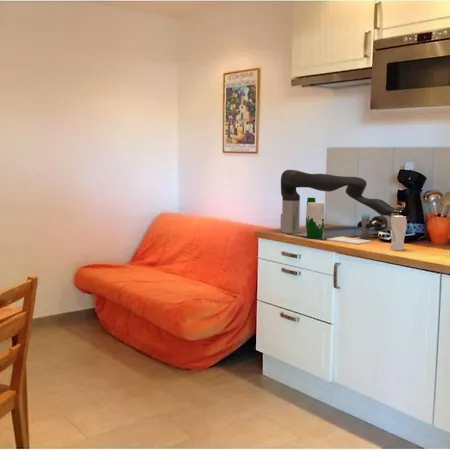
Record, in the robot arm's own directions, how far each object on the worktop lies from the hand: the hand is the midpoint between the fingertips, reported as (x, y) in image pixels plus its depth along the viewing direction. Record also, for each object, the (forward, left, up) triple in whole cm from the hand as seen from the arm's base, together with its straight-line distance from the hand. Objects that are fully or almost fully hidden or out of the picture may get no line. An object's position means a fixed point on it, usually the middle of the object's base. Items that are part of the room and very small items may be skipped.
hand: (362, 225), depth 283 cm
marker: (0, +3, -7) cm, 8 cm away
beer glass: (+26, -10, -7) cm, 29 cm away
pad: (-2, -7, -7) cm, 10 cm away
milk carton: (-20, -11, -7) cm, 24 cm away
